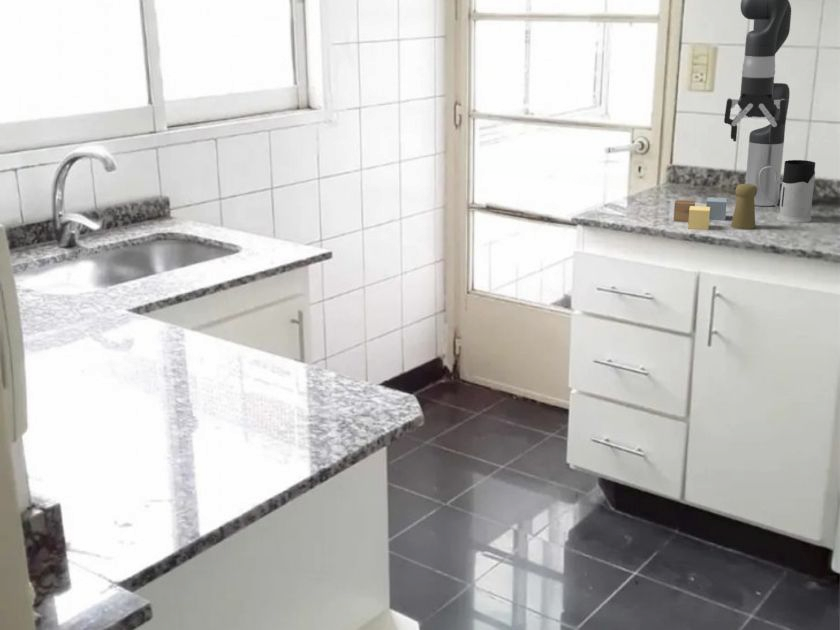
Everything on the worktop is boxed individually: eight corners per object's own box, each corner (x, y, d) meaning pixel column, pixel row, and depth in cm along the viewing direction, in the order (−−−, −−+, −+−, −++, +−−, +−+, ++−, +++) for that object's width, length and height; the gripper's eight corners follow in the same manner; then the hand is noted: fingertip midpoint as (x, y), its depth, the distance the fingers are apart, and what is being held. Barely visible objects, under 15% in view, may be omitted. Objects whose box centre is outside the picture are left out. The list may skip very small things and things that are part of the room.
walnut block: (674, 217, 267) (675, 199, 266) (693, 218, 266) (695, 200, 264) (673, 221, 263) (674, 202, 261) (693, 222, 261) (694, 203, 260)
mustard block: (688, 224, 259) (690, 206, 257) (708, 225, 258) (710, 206, 256) (687, 229, 254) (689, 209, 253) (708, 230, 253) (709, 210, 251)
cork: (752, 224, 258) (756, 182, 255) (757, 229, 252) (761, 186, 249) (728, 224, 259) (732, 181, 255) (733, 229, 253) (737, 186, 250)
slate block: (705, 215, 269) (707, 197, 267) (725, 216, 267) (726, 198, 266) (705, 219, 264) (706, 201, 263) (725, 220, 263) (726, 202, 261)
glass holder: (814, 223, 258) (820, 165, 253) (756, 221, 261) (761, 164, 256) (809, 216, 266) (815, 159, 261) (753, 214, 269) (758, 158, 264)
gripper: (788, 73, 245) (781, 139, 250) (727, 73, 248) (722, 138, 254) (790, 76, 238) (783, 144, 243) (727, 76, 242) (722, 143, 247)
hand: (752, 141), depth 248 cm, fingers open, 8 cm apart
